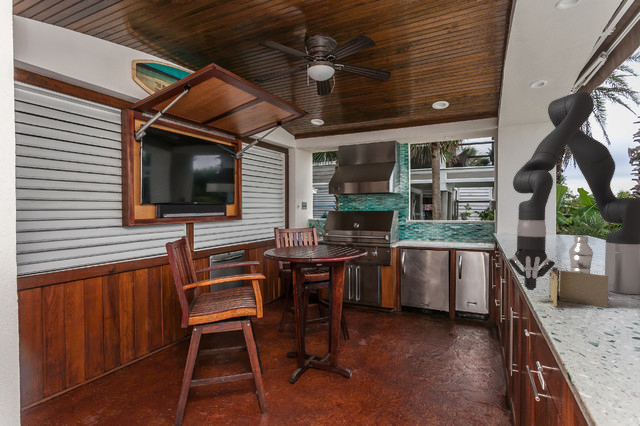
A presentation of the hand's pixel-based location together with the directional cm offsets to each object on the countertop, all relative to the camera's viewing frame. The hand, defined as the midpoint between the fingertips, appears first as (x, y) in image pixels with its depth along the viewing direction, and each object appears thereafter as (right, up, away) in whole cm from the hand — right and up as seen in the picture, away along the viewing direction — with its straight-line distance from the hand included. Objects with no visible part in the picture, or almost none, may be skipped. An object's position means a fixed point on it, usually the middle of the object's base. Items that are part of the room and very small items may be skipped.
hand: (529, 289), depth 102 cm
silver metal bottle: (+23, -4, +9) cm, 25 cm away
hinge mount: (+16, -4, +1) cm, 17 cm away
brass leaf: (+7, -4, -1) cm, 8 cm away
